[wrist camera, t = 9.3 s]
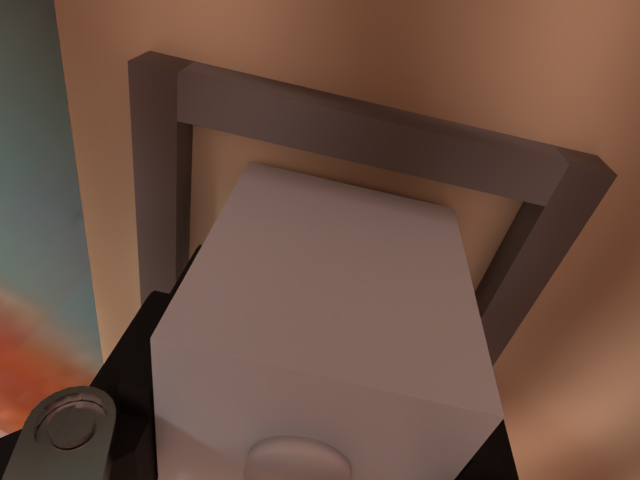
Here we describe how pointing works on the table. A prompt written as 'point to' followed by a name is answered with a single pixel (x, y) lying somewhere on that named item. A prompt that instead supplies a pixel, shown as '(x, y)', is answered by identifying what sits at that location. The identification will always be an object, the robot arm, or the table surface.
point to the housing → (323, 341)
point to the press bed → (393, 168)
